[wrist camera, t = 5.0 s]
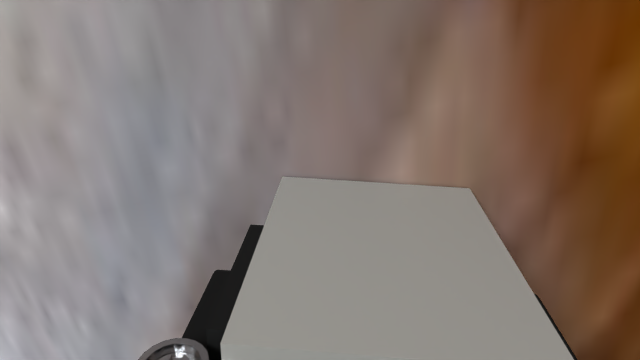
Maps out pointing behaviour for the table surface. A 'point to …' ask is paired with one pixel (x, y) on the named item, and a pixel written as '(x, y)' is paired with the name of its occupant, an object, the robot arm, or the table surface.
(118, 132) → the table surface
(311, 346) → the matte off-white cube
